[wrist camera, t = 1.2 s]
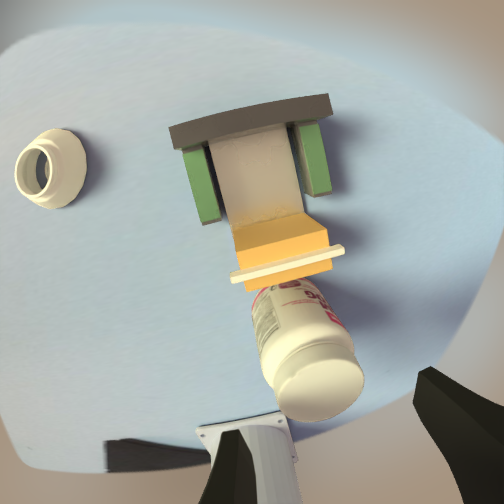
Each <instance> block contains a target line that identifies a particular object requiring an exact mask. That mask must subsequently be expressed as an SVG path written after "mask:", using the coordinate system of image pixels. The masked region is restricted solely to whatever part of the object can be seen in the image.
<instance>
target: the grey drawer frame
mask: <svg viewBox="0 0 504 504" xmlns="http://www.w3.org/2000/svg"><path fill="white" fill-rule="evenodd" d="M331 115H333V111H332V107H331V103H330V99H329V95H328V94H319V95H312V96H304V97H298V98H291V99H285V100H279V101H273V102H268V103H263V104H258V105H253V106H248V107H243V108H239V109H234V110H230V111H226V112H222V113H218V114H214V115H210V116H206V117H202V118H199V119H195V120H191V121H188V122H184V123H181V124H178V125H174V126H171V127H169V131H170V135H171V139H172V143H173V147H174V149H175V150H181V151H182V152H183V159H184V162H185V166H186V170H187V174H188V177H189V181H190V185H191V189H192V192H193V196H194V199H195V203H196V207H197V210H198V214H199V217H200V221H201V223H202V225H207V224H211V223H214V222H218V221H221V218H222V213H221V209H220V206H219V202H218V198H217V194H216V191H215V187H214V183H213V179H212V175H211V171H210V168H209V164H208V160H207V156H206V152H205V148H204V147H205V146H209V147H210V151H211V155H212V159H213V163H214V166H215V170H216V174H217V178H218V182H219V186H220V190H221V193H222V197H223V201H224V205H225V209H226V212H227V216H228V220H229V224H230V227H231V231H232V235H233V230H237V229H240V228H244V227H248V226H252V225H256V224H260V223H264V222H268V221H272V220H276V219H280V218H284V217H288V216H292V215H296V214H300V213H304V208H303V203H302V198H301V193H300V188H299V183H298V179H297V174H296V169H295V165H294V160H293V156H292V151H291V147H290V143H289V139H288V134H287V130H286V128H288V127H290V130H291V134H292V139H293V143H294V147H295V152H296V156H297V160H298V165H299V170H300V174H301V179H302V184H303V188H304V193H305V194H308V195H310V196H312V197H314V198H315V197H320V196H324V195H328V194H332V193H331V191H332V186H331V181H330V175H329V170H328V165H327V160H326V155H325V151H324V146H323V141H322V137H321V133H320V128H319V124H317V121H316V120H319V119H322V118H325V117H328V116H331ZM233 239H234V235H233Z"/></svg>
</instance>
